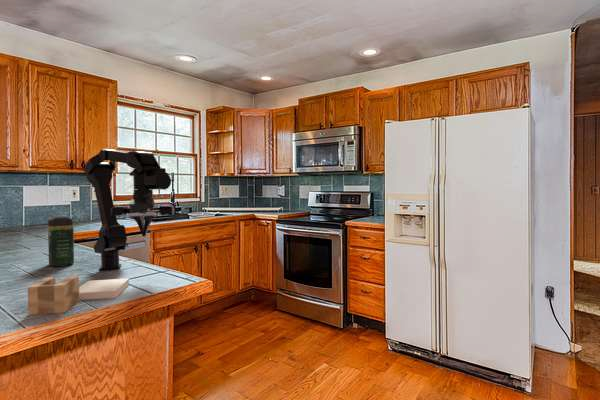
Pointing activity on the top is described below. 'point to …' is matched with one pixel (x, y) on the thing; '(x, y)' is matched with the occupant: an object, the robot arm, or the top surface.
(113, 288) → the cover plate
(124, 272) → the top surface
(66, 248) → the coffee jar
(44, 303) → the oak box
